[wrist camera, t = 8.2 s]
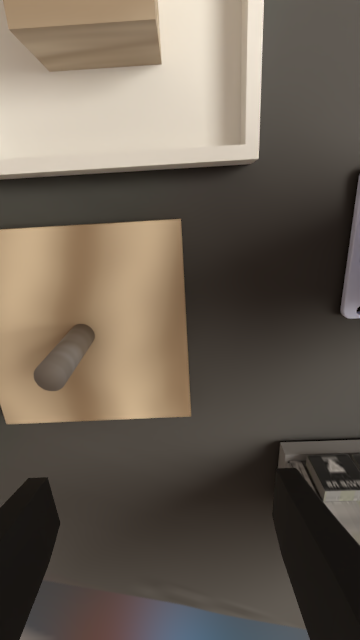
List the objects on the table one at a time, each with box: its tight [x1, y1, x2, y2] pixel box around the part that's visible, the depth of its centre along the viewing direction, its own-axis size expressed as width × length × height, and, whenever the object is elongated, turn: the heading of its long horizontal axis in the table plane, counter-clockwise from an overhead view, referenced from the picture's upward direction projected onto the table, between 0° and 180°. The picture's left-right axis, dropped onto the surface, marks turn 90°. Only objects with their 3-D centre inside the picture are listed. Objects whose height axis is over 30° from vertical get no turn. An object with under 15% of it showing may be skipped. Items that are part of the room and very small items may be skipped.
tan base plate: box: [0, 219, 191, 424], centre depth 16 cm, size 12×12×6 cm
